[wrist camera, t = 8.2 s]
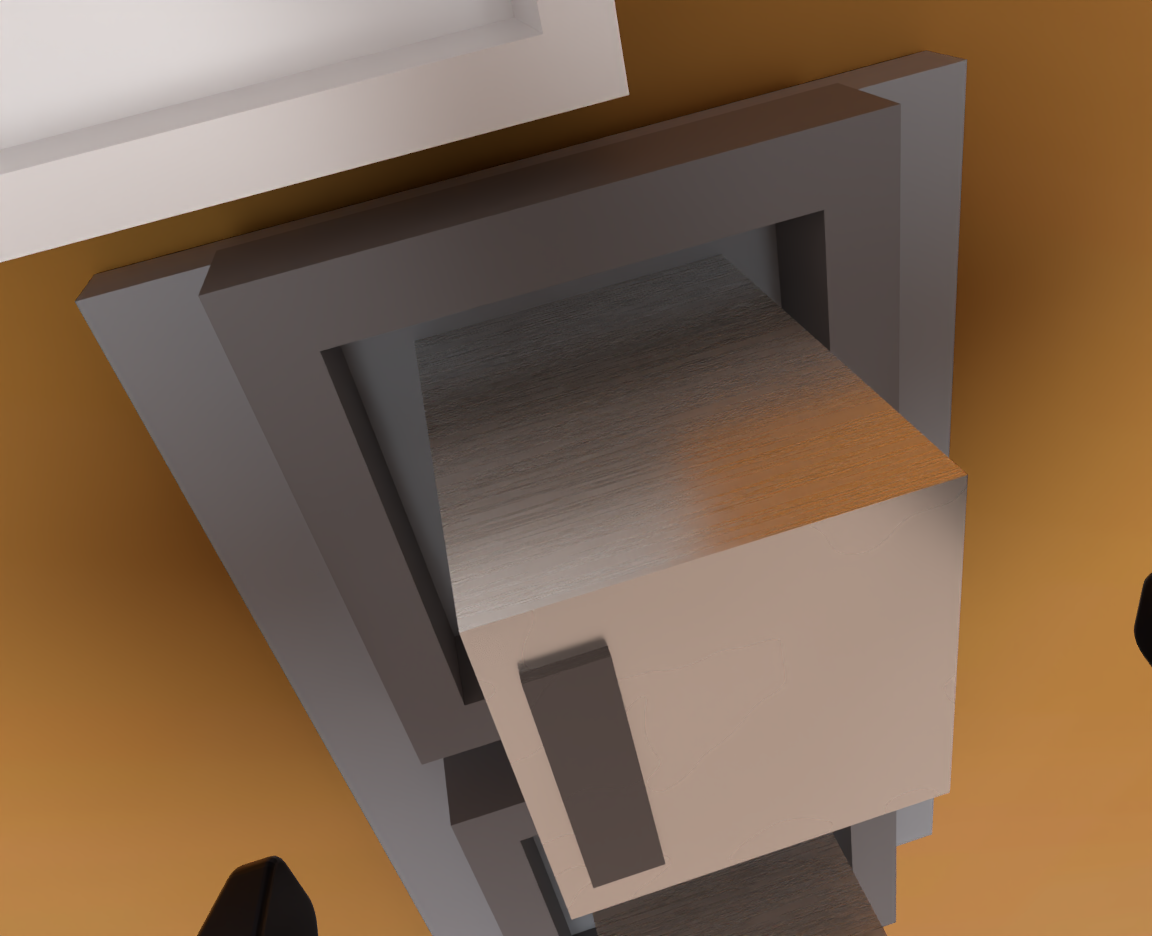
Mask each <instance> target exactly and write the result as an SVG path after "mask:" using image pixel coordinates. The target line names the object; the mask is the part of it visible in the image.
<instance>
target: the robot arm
mask: <svg viewBox="0 0 1152 936" xmlns="http://www.w3.org/2000/svg"><path fill="white" fill-rule="evenodd" d="M1134 635H1135V639H1136V642H1137V645H1138V647H1139V649H1140V651H1141V652H1142V654H1143V656H1144V657H1145V658H1146V660H1147V661H1148V662H1149V664H1150V665H1151V666H1152V573H1151V574H1149V575H1148V576H1147V577H1146V579H1145V581H1144V584H1143V588H1142V592H1141V597H1140V602H1139V606H1138V611H1137V616H1136V620H1135V625H1134ZM197 936H318V929H317V920H316V915H315V911H314V908H313V905H312V903H311V900H310V899H309V897H308V895H307V894H306V892H305V891H304V889H303V888H302V887H301V885H300V884H299V882H298V881H297V879H296V878H295V876H294V875H293V873H292V872H291V870H290V869H289V868H288V866H287V865H286V863H285V862H284V861H283V860H282V859H281V858H279V857H277V856H270V857H267V858H263V859H260V860H257V861H254V862H251V863H248V864H245V865H242V866H240V867H238V868H237V869H235V870H234V871H233V872H232V874H231V875H230V876H229V878H228V879H227V881H226V883H225V885H224V887H223V889H222V890H221V892H220V894H219V896H218V898H217V900H216V902H215V903H214V905H213V907H212V909H211V911H210V913H209V915H208V916H207V918H206V920H205V922H204V924H203V926H202V927H201V929H200V931H199V933H198V935H197Z"/></svg>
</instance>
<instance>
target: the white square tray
mask: <svg viewBox="0 0 1152 936" xmlns="http://www.w3.org/2000/svg"><path fill="white" fill-rule="evenodd" d="M627 95H629V90H628V84H627V78H626V71H625V65H624V59H623V52H622V46H621V40H620V33H619V27H618V21H617V14H616V8H615V2H614V0H0V262H4V261H7V260H11V259H15V258H19V257H22V256H26V255H30V254H34V253H37V252H41V251H45V250H49V249H53V248H56V247H60V246H64V245H68V244H71V243H75V242H79V241H83V240H86V239H90V238H94V237H98V236H101V235H105V234H109V233H113V232H116V231H120V230H124V229H128V228H131V227H135V226H139V225H143V224H146V223H150V222H154V221H158V220H161V219H165V218H169V217H173V216H176V215H180V214H184V213H188V212H191V211H195V210H199V209H203V208H206V207H210V206H214V205H218V204H221V203H225V202H229V201H233V200H236V199H240V198H244V197H248V196H251V195H255V194H259V193H263V192H266V191H270V190H274V189H278V188H282V187H285V186H289V185H293V184H297V183H300V182H304V181H308V180H312V179H315V178H319V177H323V176H327V175H330V174H334V173H338V172H342V171H345V170H349V169H353V168H357V167H360V166H364V165H368V164H372V163H375V162H379V161H383V160H387V159H390V158H394V157H398V156H402V155H405V154H409V153H413V152H417V151H420V150H424V149H428V148H432V147H435V146H439V145H443V144H447V143H450V142H454V141H458V140H462V139H465V138H469V137H473V136H477V135H480V134H484V133H488V132H492V131H496V130H499V129H503V128H507V127H511V126H514V125H518V124H522V123H526V122H529V121H533V120H537V119H541V118H544V117H548V116H552V115H556V114H559V113H563V112H567V111H571V110H574V109H578V108H582V107H586V106H589V105H593V104H597V103H601V102H604V101H608V100H612V99H616V98H619V97H623V96H627Z"/></svg>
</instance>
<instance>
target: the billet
mask: <svg viewBox="0 0 1152 936" xmlns="http://www.w3.org/2000/svg"><path fill="white" fill-rule="evenodd" d="M592 914H593V918H594V922H595V926H596V931H597V935H598V936H887V935H886V933H885V931H884V929H883V927H882V925H881V923H880V921H879V920H878V918H877V916H876V914H875V912H874V910H873V908H872V906H871V904H870V903H869V901H868V899H867V897H866V895H865V893H864V891H863V889H862V888H861V886H860V884H859V882H858V880H857V878H856V876H855V874H854V872H853V871H852V869H851V867H850V865H849V863H848V861H847V859H846V857H845V855H844V854H843V852H842V850H841V848H840V846H839V844H838V842H837V840H836V838H835V837H834V835H833V833H832V832H831V833H828V834H825V835H822V836H819V837H816V838H813V839H810V840H807V841H804V842H801V843H798V844H795V845H792V846H789V847H786V848H783V849H780V850H777V851H774V852H771V853H768V854H765V855H762V856H759V857H756V858H753V859H750V860H747V861H744V862H741V863H738V864H736V865H733V866H730V867H727V868H724V869H721V870H718V871H715V872H712V873H709V874H706V875H703V876H700V877H697V878H694V879H691V880H688V881H685V882H682V883H679V884H676V885H673V886H670V887H667V888H664V889H661V890H658V891H655V892H652V893H649V894H646V895H643V896H640V897H638V898H635V899H632V900H629V901H626V902H623V903H620V904H617V905H614V906H611V907H608V908H605V909H602V910H599V911H596V912H593V913H592Z"/></svg>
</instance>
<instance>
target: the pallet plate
mask: <svg viewBox="0 0 1152 936" xmlns="http://www.w3.org/2000/svg"><path fill="white" fill-rule="evenodd" d="M966 71H967V60H966V59H962V58H957V57H953V56H948V55H944V54H939V53H935V52H930V51H923V52H919V53H915V54H912V55H908V56H904V57H901V58H897V59H893V60H890V61H886V62H882V63H878V64H875V65H871V66H867V67H864V68H860V69H856V70H852V71H849V72H845V73H841V74H838V75H834V76H830V77H826V78H823V79H819V80H815V81H812V82H808V83H804V84H800V85H797V86H793V87H789V88H786V89H782V90H778V91H774V92H771V93H767V94H763V95H760V96H756V97H752V98H748V99H745V100H741V101H737V102H734V103H730V104H726V105H722V106H719V107H715V108H711V109H708V110H704V111H700V112H696V113H693V114H689V115H685V116H682V117H678V118H674V119H670V120H667V121H663V122H659V123H656V124H652V125H648V126H645V127H641V128H637V129H633V130H630V131H626V132H622V133H619V134H615V135H611V136H607V137H604V138H600V139H596V140H593V141H589V142H585V143H581V144H578V145H574V146H570V147H567V148H563V149H559V150H555V151H552V152H548V153H544V154H541V155H537V156H533V157H529V158H526V159H522V160H518V161H515V162H511V163H507V164H503V165H500V166H496V167H492V168H489V169H485V170H481V171H477V172H474V173H470V174H466V175H463V176H459V177H455V178H451V179H448V180H444V181H440V182H437V183H433V184H429V185H425V186H422V187H418V188H414V189H411V190H407V191H403V192H399V193H396V194H392V195H388V196H385V197H381V198H377V199H374V200H370V201H366V202H362V203H359V204H355V205H351V206H348V207H344V208H340V209H336V210H333V211H329V212H325V213H322V214H318V215H314V216H310V217H307V218H303V219H299V220H296V221H292V222H288V223H284V224H281V225H277V226H273V227H270V228H266V229H262V230H258V231H255V232H251V233H247V234H244V235H240V236H236V237H232V238H229V239H225V240H221V241H218V242H214V243H210V244H206V245H203V246H199V247H195V248H192V249H188V250H184V251H180V252H177V253H173V254H169V255H166V256H162V257H158V258H154V259H151V260H147V261H143V262H140V263H136V264H132V265H129V266H125V267H121V268H117V269H114V270H110V271H106V272H103V273H99V274H95V275H94V276H93V277H92V279H91V280H90V281H89V283H88V284H87V285H86V287H85V288H84V290H83V291H82V292H81V294H80V295H79V297H78V298H77V299H76V301H75V303H76V304H77V306H78V308H79V310H80V312H81V313H82V315H83V317H84V319H85V320H86V322H87V324H88V326H89V327H90V329H91V331H92V333H93V335H94V336H95V338H96V340H97V342H98V343H99V345H100V347H101V349H102V351H103V352H104V354H105V356H106V358H107V359H108V361H109V363H110V365H111V366H112V368H113V370H114V372H115V374H116V375H117V377H118V379H119V381H120V382H121V384H122V386H123V388H124V390H125V391H126V393H127V395H128V397H129V398H130V400H131V402H132V404H133V405H134V407H135V409H136V411H137V413H138V414H139V416H140V418H141V420H142V421H143V423H144V425H145V427H146V429H147V430H148V432H149V434H150V436H151V437H152V439H153V441H154V443H155V445H156V446H157V448H158V450H159V452H160V453H161V455H162V457H163V459H164V460H165V462H166V464H167V466H168V468H169V469H170V471H171V473H172V475H173V476H174V478H175V480H176V482H177V484H178V485H179V487H180V489H181V491H182V492H183V494H184V496H185V498H186V499H187V501H188V503H189V505H190V507H191V508H192V510H193V512H194V514H195V515H196V517H197V519H198V521H199V523H200V524H201V526H202V528H203V530H204V531H205V533H206V535H207V537H208V538H209V540H210V542H211V544H212V546H213V547H214V549H215V551H216V553H217V554H218V556H219V558H220V560H221V562H222V563H223V565H224V567H225V569H226V570H227V572H228V574H229V576H230V578H231V579H232V581H233V583H234V585H235V586H236V588H237V590H238V592H239V593H240V595H241V597H242V599H243V601H244V602H245V604H246V606H247V608H248V609H249V611H250V613H251V615H252V617H253V618H254V620H255V622H256V624H257V625H258V627H259V629H260V631H261V632H262V634H263V636H264V638H265V640H266V641H267V643H268V645H269V647H270V648H271V650H272V652H273V654H274V656H275V657H276V659H277V661H278V663H279V664H280V666H281V668H282V670H283V671H284V673H285V675H286V677H287V679H288V680H289V682H290V684H291V686H292V687H293V689H294V691H295V693H296V695H297V696H298V698H299V700H300V702H301V703H302V705H303V707H304V709H305V710H306V712H307V714H308V716H309V718H310V719H311V721H312V723H313V725H314V726H315V728H316V730H317V732H318V734H319V735H320V737H321V739H322V741H323V742H324V744H325V746H326V748H327V750H328V751H329V753H330V755H331V757H332V758H333V760H334V762H335V764H336V765H337V767H338V769H339V771H340V773H341V774H342V776H343V778H344V780H345V781H346V783H347V785H348V787H349V789H350V790H351V792H352V794H353V796H354V797H355V799H356V801H357V803H358V804H359V806H360V808H361V810H362V812H363V813H364V815H365V817H366V819H367V820H368V822H369V824H370V826H371V828H372V829H373V831H374V833H375V835H376V836H377V838H378V840H379V842H380V843H381V845H382V847H383V849H384V851H385V852H386V854H387V856H388V858H389V859H390V861H391V863H392V865H393V867H394V868H395V870H396V872H397V874H398V875H399V877H400V879H401V881H402V883H403V884H404V886H405V888H406V890H407V891H408V893H409V895H410V897H411V898H412V900H413V902H414V904H415V906H416V907H417V909H418V911H419V913H420V914H421V916H422V918H423V920H424V922H425V923H426V925H427V927H428V929H429V930H430V932H431V934H432V936H598V935H597V931H596V926H595V922H594V918H593V914H592V913H590V914H587V915H584V916H581V917H578V918H575V919H571V917H570V914H569V912H568V909H567V906H566V904H565V901H564V899H563V896H562V894H561V891H560V889H559V886H558V883H557V881H556V878H555V876H554V873H553V871H552V868H551V866H550V863H549V861H548V858H547V855H546V853H545V850H544V848H543V845H542V843H541V840H540V838H539V835H538V833H537V830H536V827H535V825H534V822H533V820H532V817H531V815H530V812H529V810H528V807H527V805H526V802H525V799H524V797H523V794H522V792H521V789H520V787H519V784H518V782H517V779H516V776H515V774H514V771H513V769H512V766H511V764H510V761H509V759H508V756H507V754H506V751H505V748H504V746H503V743H502V741H501V738H500V736H499V733H498V731H497V728H496V726H495V723H494V720H493V718H492V715H491V713H490V710H489V708H488V705H487V703H486V700H485V698H484V695H483V692H482V690H481V687H480V685H479V682H478V680H477V677H476V675H475V672H474V670H473V667H472V664H471V662H470V659H469V657H468V654H467V652H466V649H465V647H464V644H463V641H462V639H461V636H460V634H459V629H458V623H457V616H456V610H455V603H454V597H453V590H452V584H451V577H450V571H449V565H448V558H447V552H446V545H445V539H444V532H443V526H442V519H441V513H440V507H439V500H438V494H437V487H436V481H435V474H434V468H433V461H432V455H431V449H430V442H429V436H428V429H427V423H426V416H425V410H424V403H423V397H422V390H421V384H420V378H419V371H418V365H417V358H416V352H415V345H414V341H418V340H421V339H424V338H428V337H431V336H435V335H438V334H442V333H445V332H449V331H452V330H456V329H459V328H463V327H466V326H470V325H473V324H477V323H480V322H484V321H487V320H491V319H494V318H498V317H501V316H505V315H508V314H512V313H515V312H519V311H522V310H526V309H529V308H533V307H536V306H540V305H543V304H547V303H550V302H554V301H557V300H561V299H564V298H568V297H571V296H575V295H578V294H582V293H585V292H589V291H592V290H596V289H599V288H603V287H606V286H610V285H613V284H617V283H620V282H624V281H627V280H631V279H634V278H638V277H641V276H645V275H648V274H652V273H655V272H659V271H662V270H666V269H669V268H673V267H676V266H680V265H683V264H687V263H690V262H694V261H697V260H701V259H704V258H708V257H711V256H715V255H718V254H722V255H723V256H724V257H725V258H726V259H727V260H728V261H729V262H731V263H732V264H733V265H734V266H735V267H736V268H737V269H738V270H740V271H741V272H742V273H743V274H744V275H745V276H746V277H747V278H748V279H750V280H751V281H752V282H753V283H754V284H755V285H756V286H757V287H759V288H760V289H761V290H762V291H763V292H764V293H765V294H766V295H767V296H769V297H770V298H771V299H772V300H773V301H774V302H775V303H776V304H778V305H779V306H780V307H781V308H782V309H783V310H784V311H785V312H786V313H788V314H789V315H790V316H791V317H792V318H793V319H794V320H795V321H796V322H798V323H799V324H800V325H801V326H802V327H803V328H804V329H805V330H807V331H808V332H809V333H810V334H811V335H812V336H813V337H814V338H815V339H817V340H818V341H819V342H820V343H821V344H822V345H823V346H824V347H826V348H827V349H828V350H829V351H830V352H831V353H832V354H833V355H834V356H836V357H837V358H838V359H839V360H840V361H841V362H842V363H843V364H845V365H846V366H847V367H848V368H849V369H850V370H851V371H852V372H853V373H855V374H856V375H857V376H858V377H859V378H860V379H861V380H862V381H863V382H865V383H866V384H867V385H868V386H869V387H870V388H871V389H872V390H874V391H875V392H876V393H877V394H878V395H879V396H880V397H881V398H882V399H884V400H885V401H886V402H887V403H888V404H889V405H890V406H891V407H893V408H894V409H895V410H896V411H897V412H898V413H899V414H900V415H901V416H903V417H904V418H905V419H906V420H907V421H908V422H909V423H910V424H912V425H913V426H914V427H915V428H916V429H917V430H918V431H919V432H920V433H922V434H923V435H924V436H925V437H926V438H927V439H928V440H929V441H931V442H932V443H933V444H934V445H935V446H936V447H937V448H938V449H939V450H941V451H942V452H943V453H944V454H945V455H946V456H947V457H948V458H949V447H950V424H951V402H952V380H953V358H954V336H955V314H956V292H957V270H958V248H959V225H960V203H961V181H962V159H963V137H964V115H965V93H966ZM933 800H934V798H932V799H929V800H926V801H923V802H920V803H917V804H914V805H911V806H908V807H905V808H902V809H899V810H896V811H893V812H890V813H887V814H884V815H881V816H878V817H875V818H872V819H869V820H866V821H863V822H860V823H857V824H854V825H851V826H848V827H845V828H842V829H839V830H836V831H834V832H832V833H833V835H834V837H835V838H836V840H837V842H838V844H839V846H840V848H841V850H842V852H843V854H844V855H845V857H846V859H847V861H848V863H849V865H850V867H851V869H852V871H853V872H854V874H855V876H856V878H857V880H858V882H859V884H860V886H861V888H862V889H863V891H864V893H865V895H866V897H867V899H868V901H869V903H870V904H871V906H872V908H873V910H874V912H875V914H876V916H877V918H878V920H879V921H880V923H881V925H882V927H884V926H887V925H889V924H892V923H895V922H896V846H898V845H901V844H904V843H907V842H910V841H913V840H916V839H919V838H922V837H925V836H928V835H931V834H932V822H933Z"/></svg>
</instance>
